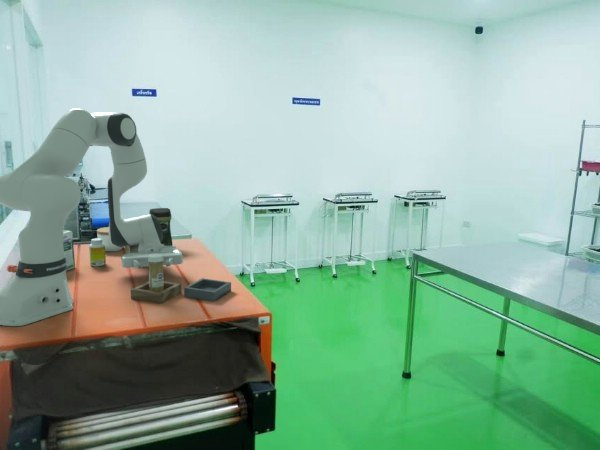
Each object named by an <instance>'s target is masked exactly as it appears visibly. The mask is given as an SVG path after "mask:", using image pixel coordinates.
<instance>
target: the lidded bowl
mask: <svg viewBox="0 0 600 450" xmlns="http://www.w3.org/2000/svg"><path fill="white" fill-rule="evenodd" d="M96 235H97V237H96V238H101V239H102V241H103V244H105V252H117V251H121V250H123V248H124V247H118V246H116V245H114V244H112V242H111V241H110V238H109V226H107V227H105V226H104V227H100V228H97V230H96Z"/></svg>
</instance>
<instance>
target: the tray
mask: <svg viewBox="0 0 600 450" xmlns="http://www.w3.org/2000/svg"><path fill="white" fill-rule="evenodd" d="M230 292H232V282H231V281H224V280H218V279H211V278H205V277H204V278H203V277H202V278H199V279H198V280H196V281H194V282H192V283H190V284H188V285H187V286H184V287H183V297H184V298H190V299H197V300H201V301H202V300H203V301H209V302H214V303H215V302H217V301H218V300H219V299H220V298H222V297H224V296H226V295H228V293H230Z"/></svg>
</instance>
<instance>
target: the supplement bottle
mask: <svg viewBox="0 0 600 450" xmlns="http://www.w3.org/2000/svg"><path fill="white" fill-rule="evenodd" d="M90 240H91V241H90V244H89V247H88V249H89V262H90V263H89V264H90V266H92V267H101V266H105V265H106V260H107V258H106V251H105V244H103V241H102V239H101V238H98V237H95V238H92V239H90Z"/></svg>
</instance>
